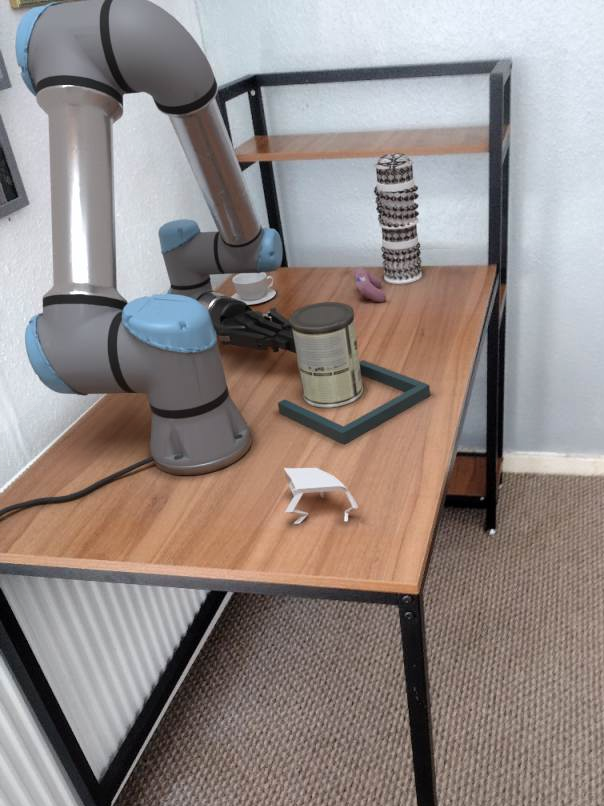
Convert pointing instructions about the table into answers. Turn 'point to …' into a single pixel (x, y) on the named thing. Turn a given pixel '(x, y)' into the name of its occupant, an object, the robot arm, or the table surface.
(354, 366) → the coffee can
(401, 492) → the table surface
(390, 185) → the decorative candle
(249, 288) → the teacup
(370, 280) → the video game controller
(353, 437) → the teal u-shaped frame
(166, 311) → the robot arm
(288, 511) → the origami figure
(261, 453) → the table surface
